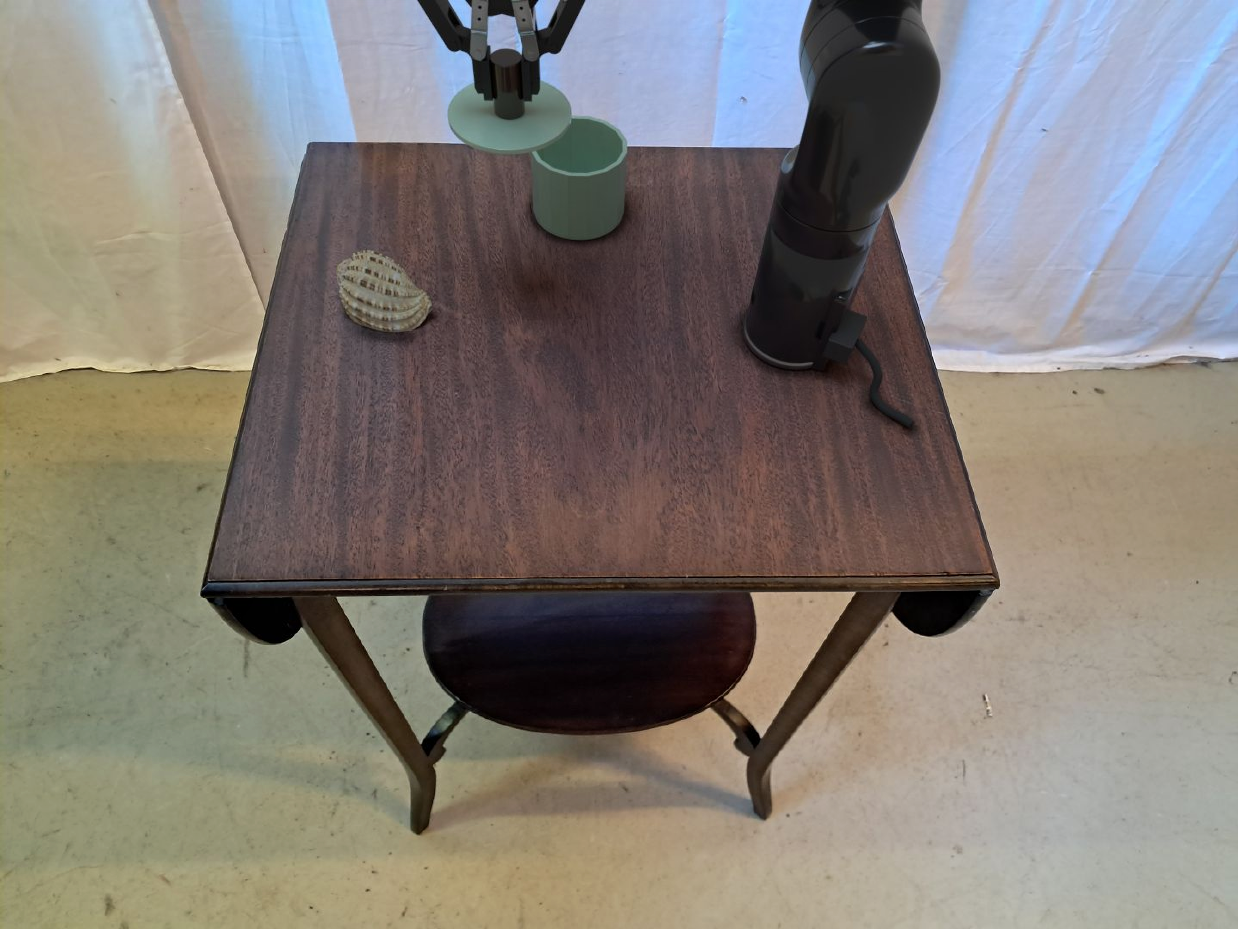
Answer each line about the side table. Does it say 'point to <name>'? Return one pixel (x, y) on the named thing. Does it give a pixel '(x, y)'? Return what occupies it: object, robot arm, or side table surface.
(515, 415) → the side table surface
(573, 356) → the side table surface
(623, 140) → the pot
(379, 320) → the seashell
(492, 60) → the lid
